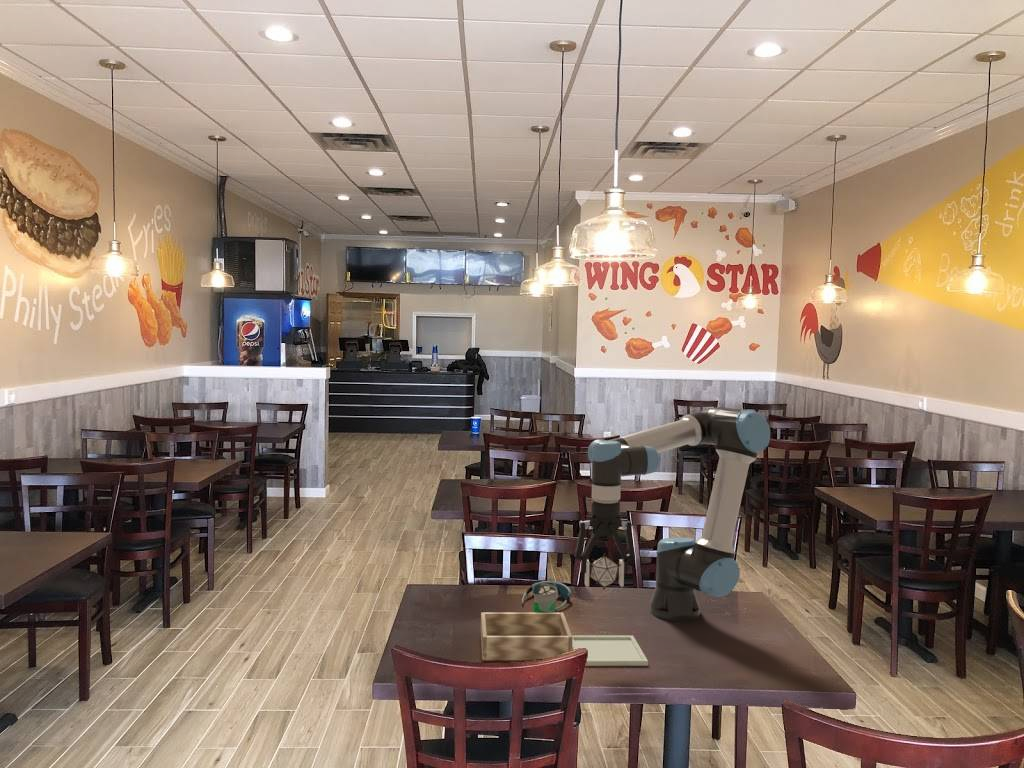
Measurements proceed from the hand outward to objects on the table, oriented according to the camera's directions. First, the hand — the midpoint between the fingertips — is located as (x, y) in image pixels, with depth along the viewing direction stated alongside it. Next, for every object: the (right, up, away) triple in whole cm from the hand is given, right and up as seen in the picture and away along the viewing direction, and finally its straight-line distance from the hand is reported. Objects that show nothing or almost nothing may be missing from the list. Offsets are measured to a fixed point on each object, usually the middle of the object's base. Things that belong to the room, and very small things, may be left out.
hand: (604, 585), depth 201 cm
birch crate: (-21, -17, +3) cm, 27 cm away
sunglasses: (-13, -16, +38) cm, 43 cm away
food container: (-14, -17, +21) cm, 30 cm away
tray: (+1, -18, +1) cm, 18 cm away
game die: (0, -2, 0) cm, 2 cm away
